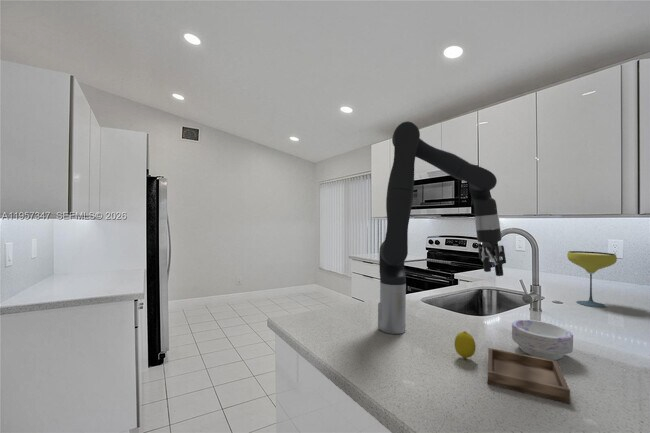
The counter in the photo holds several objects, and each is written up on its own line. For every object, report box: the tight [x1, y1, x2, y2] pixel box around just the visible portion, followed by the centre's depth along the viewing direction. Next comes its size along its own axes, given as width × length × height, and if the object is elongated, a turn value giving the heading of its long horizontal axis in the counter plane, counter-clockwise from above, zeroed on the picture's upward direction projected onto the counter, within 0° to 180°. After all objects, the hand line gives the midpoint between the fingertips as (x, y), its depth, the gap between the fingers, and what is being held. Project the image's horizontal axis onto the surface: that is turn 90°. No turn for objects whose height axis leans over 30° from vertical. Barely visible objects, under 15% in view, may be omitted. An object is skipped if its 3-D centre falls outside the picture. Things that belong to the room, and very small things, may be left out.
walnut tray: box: [487, 347, 571, 405], centre depth 77 cm, size 16×16×3 cm
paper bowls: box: [511, 319, 574, 361], centre depth 92 cm, size 15×15×8 cm
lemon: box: [454, 330, 476, 360], centre depth 88 cm, size 6×6×8 cm
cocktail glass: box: [566, 250, 618, 308], centre depth 147 cm, size 18×18×25 cm
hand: (493, 273), depth 106 cm, fingers open, 8 cm apart
